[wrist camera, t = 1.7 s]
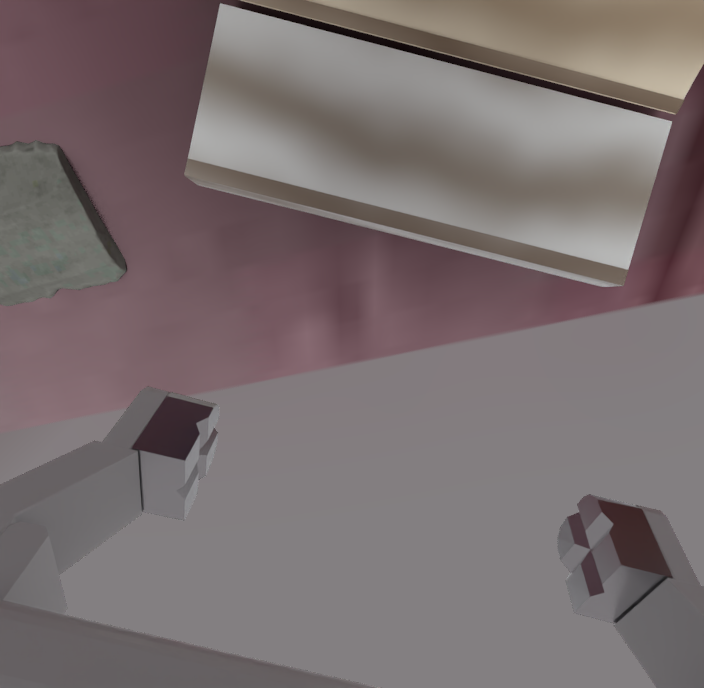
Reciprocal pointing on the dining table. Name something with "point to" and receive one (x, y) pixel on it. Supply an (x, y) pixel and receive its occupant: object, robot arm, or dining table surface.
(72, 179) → the stone slab
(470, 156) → the board
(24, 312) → the dining table surface
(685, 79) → the thin beige board
